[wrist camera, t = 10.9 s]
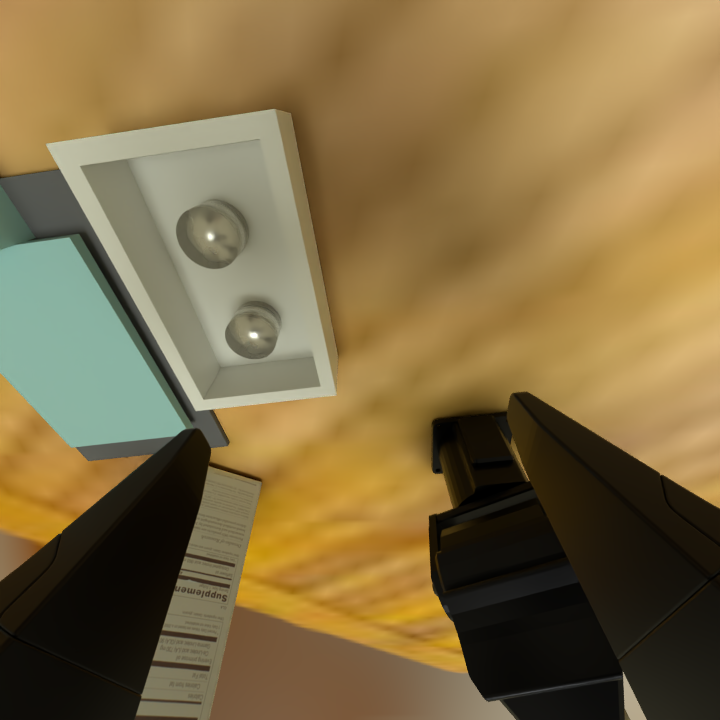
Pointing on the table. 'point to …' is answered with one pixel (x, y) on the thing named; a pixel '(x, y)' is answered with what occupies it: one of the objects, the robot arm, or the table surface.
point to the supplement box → (202, 603)
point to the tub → (203, 285)
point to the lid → (75, 343)
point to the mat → (65, 217)
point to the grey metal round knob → (212, 233)
